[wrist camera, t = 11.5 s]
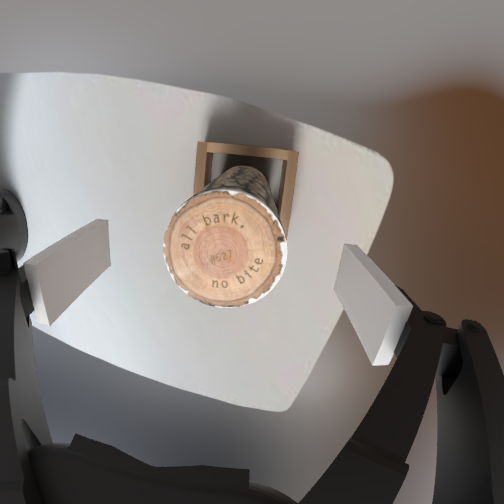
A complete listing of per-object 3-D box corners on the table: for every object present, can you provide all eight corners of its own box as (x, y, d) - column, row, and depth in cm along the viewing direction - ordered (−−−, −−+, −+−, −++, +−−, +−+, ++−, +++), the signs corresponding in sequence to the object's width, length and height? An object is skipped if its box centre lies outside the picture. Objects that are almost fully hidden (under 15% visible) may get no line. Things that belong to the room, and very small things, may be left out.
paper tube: (212, 173, 38) (144, 213, 15) (260, 158, 38) (267, 172, 14) (227, 219, 40) (189, 319, 17) (274, 205, 40) (300, 291, 16)
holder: (198, 226, 41) (191, 237, 36) (205, 142, 37) (197, 141, 32) (282, 235, 41) (285, 247, 36) (293, 151, 37) (298, 151, 32)
